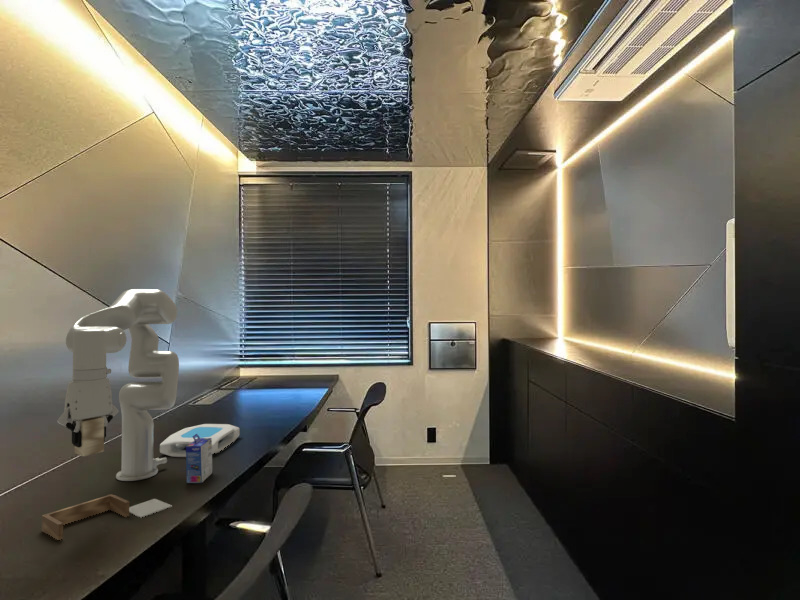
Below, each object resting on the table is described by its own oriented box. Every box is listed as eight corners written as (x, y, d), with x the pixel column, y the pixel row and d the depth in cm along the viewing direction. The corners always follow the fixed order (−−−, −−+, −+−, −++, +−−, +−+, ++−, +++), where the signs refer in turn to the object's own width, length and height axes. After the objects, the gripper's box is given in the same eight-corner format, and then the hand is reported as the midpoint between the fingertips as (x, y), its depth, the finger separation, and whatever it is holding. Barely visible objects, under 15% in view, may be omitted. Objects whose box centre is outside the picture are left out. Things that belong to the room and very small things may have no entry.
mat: (154, 499, 143) (154, 498, 143) (172, 506, 138) (172, 505, 138) (123, 510, 135) (123, 509, 135) (140, 518, 130) (140, 516, 130)
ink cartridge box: (196, 473, 166) (197, 431, 166) (212, 473, 166) (213, 431, 167) (184, 483, 156) (185, 438, 156) (202, 483, 156) (202, 438, 157)
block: (94, 448, 131) (95, 415, 131) (103, 451, 128) (104, 417, 128) (74, 453, 127) (74, 419, 127) (83, 456, 124) (83, 421, 124)
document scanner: (158, 457, 185) (158, 440, 185) (193, 437, 213) (193, 423, 213) (212, 458, 184) (212, 441, 184) (240, 438, 212) (240, 424, 212)
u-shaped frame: (111, 508, 137) (111, 493, 137) (129, 516, 132) (129, 501, 132) (41, 531, 123) (42, 515, 123) (58, 541, 117) (58, 524, 118)
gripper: (115, 370, 137) (115, 434, 137) (46, 378, 123) (45, 449, 123) (129, 372, 133) (129, 438, 133) (59, 381, 119) (58, 454, 119)
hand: (89, 442), depth 128 cm, fingers closed on block, 5 cm apart
